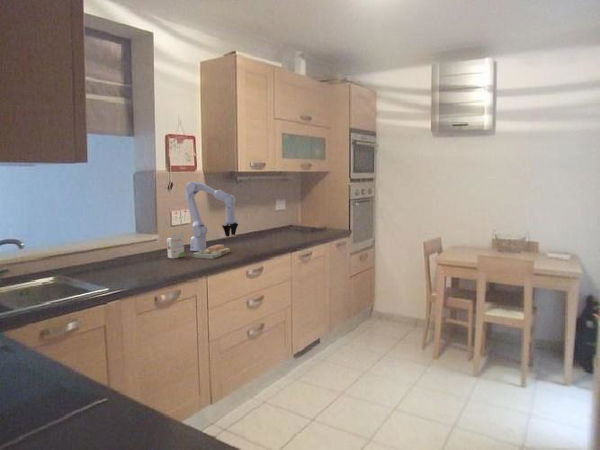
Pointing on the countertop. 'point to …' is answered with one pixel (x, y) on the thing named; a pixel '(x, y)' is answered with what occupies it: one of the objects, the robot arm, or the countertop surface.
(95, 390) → the countertop surface
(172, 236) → the ink box
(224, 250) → the beige square slab
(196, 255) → the tray
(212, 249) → the tile front
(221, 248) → the tile rear
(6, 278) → the countertop surface
